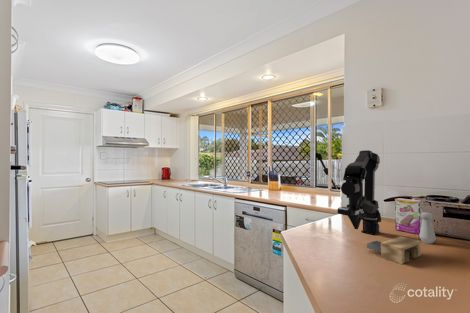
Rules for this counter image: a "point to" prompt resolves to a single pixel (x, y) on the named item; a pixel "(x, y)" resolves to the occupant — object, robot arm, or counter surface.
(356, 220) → the robot arm
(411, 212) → the candy bar box
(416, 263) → the counter surface
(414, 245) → the oak block
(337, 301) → the counter surface
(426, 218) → the salt shaker
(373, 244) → the slate tile
